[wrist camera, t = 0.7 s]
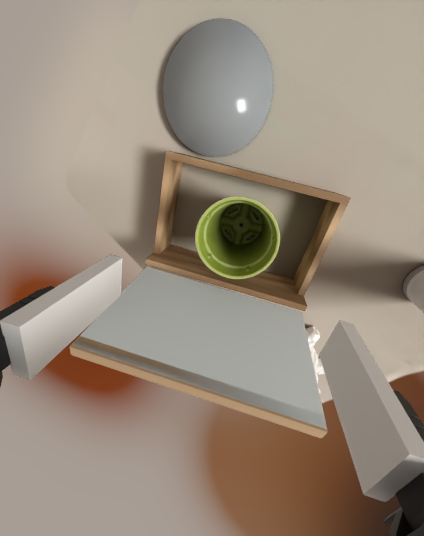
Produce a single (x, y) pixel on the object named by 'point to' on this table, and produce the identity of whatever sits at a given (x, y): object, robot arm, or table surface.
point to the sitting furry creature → (312, 338)
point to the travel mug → (415, 287)
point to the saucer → (218, 87)
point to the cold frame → (264, 282)
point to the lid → (210, 348)
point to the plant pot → (237, 238)
